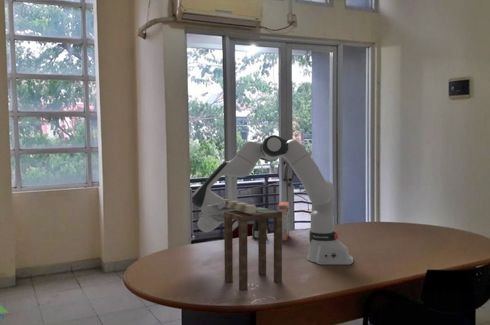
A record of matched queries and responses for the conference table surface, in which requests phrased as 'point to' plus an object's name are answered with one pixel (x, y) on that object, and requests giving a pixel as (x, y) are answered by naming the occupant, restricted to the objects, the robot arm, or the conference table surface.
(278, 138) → the robot arm
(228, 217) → the stand
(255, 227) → the ink bottle
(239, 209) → the bar
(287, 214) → the cracker box
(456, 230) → the conference table surface
